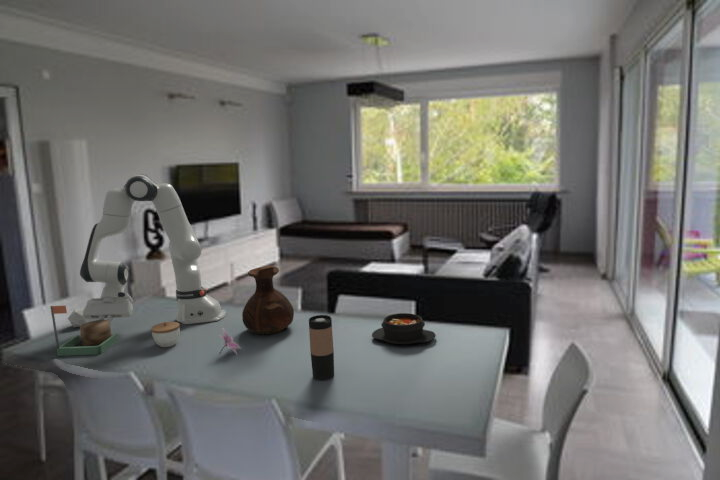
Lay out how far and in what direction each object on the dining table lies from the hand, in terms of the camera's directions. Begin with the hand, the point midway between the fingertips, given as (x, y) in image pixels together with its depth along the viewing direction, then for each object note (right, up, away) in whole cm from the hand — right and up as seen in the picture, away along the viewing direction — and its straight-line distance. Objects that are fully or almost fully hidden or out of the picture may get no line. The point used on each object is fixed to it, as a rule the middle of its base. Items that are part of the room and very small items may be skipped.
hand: (103, 326), depth 216 cm
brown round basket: (0, -5, -5) cm, 8 cm away
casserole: (+127, -2, -19) cm, 129 cm away
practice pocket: (0, -7, -12) cm, 14 cm away
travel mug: (+98, -8, -48) cm, 109 cm away
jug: (+71, -2, -1) cm, 71 cm away
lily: (+61, -6, -24) cm, 66 cm away
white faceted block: (-19, -3, +16) cm, 25 cm away
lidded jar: (+32, -5, -12) cm, 35 cm away
